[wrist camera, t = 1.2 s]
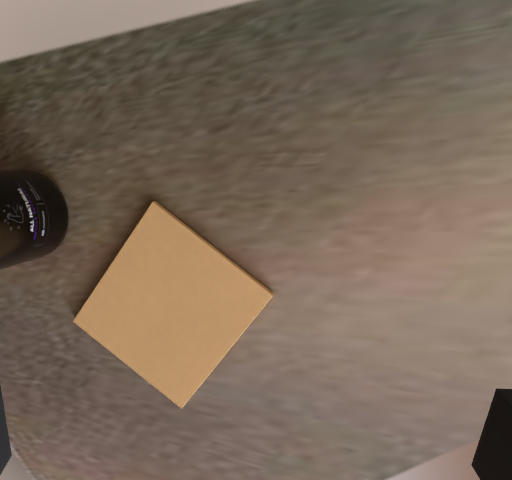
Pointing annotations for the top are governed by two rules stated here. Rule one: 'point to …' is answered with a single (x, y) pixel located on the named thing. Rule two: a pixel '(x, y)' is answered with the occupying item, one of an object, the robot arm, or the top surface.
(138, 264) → the cork mat
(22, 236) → the supplement bottle
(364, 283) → the top surface
